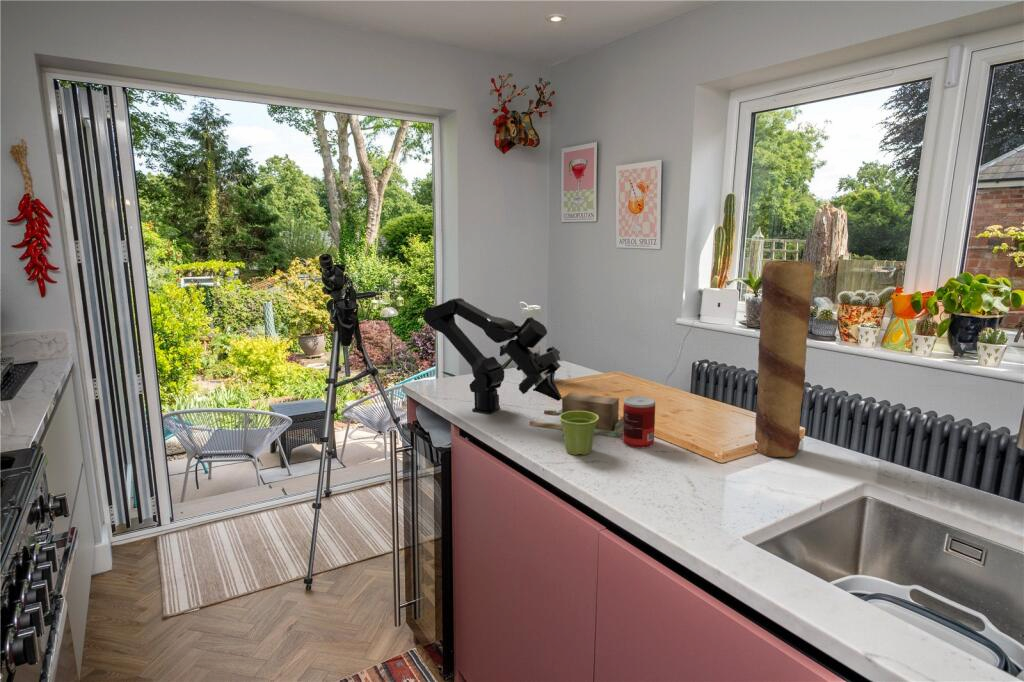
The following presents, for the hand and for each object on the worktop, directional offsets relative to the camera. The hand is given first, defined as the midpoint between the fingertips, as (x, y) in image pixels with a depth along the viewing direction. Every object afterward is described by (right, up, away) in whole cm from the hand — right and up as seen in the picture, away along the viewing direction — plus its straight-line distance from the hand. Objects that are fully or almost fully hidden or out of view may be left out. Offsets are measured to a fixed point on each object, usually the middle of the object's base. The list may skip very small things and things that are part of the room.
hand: (560, 399), depth 159 cm
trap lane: (+5, -7, -1) cm, 9 cm away
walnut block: (+8, -7, -3) cm, 11 cm away
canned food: (+18, -9, -16) cm, 26 cm away
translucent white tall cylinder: (-6, +3, +50) cm, 50 cm away
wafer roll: (+49, -10, -22) cm, 55 cm away
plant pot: (+3, -11, -21) cm, 23 cm away
